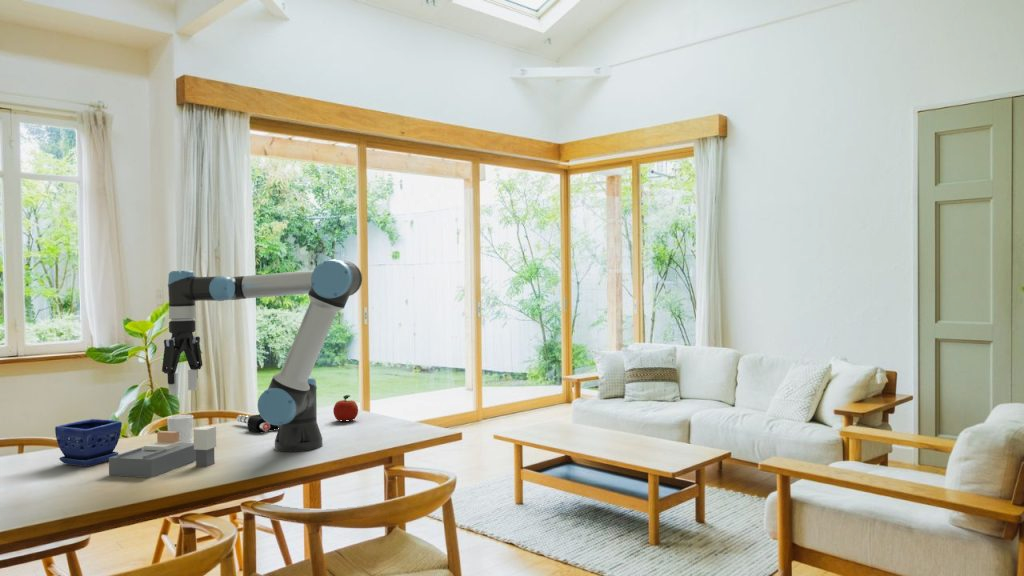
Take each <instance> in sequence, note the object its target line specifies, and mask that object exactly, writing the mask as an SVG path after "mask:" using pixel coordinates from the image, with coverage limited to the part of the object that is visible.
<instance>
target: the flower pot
mask: <svg viewBox="0 0 1024 576" xmlns="http://www.w3.org/2000/svg"><path fill="white" fill-rule="evenodd" d="M122 424H123V423H122V421H120V420H113V419H110V420H109V419H101V418H100V419H99V418H90V419H85V420H80V421H75V422H69V423H66V424H61V425H57V426H55V427H54V431H55V438H56V439H55V440H56V443H57V445H58V448H59V450H60V451H61V453H62V454H63V456H61V457H59V458H58V459H59V460H60V462H61V463H63V464H65V465H72V466H79V467H85V466H87V467H89V466H90V467H91V466H93V465H98V464H101V463H102V464H103V463H105V461H106V462H109V457H113V456H116V455H118V454H119V452H118V451H115V449H116V448H117V445H118V443H119V440H120V436H121V432H122V426H123V425H122Z"/></svg>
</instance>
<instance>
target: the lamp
mask: <svg viewBox="0 0 1024 576" xmlns="http://www.w3.org/2000/svg"><path fill="white" fill-rule="evenodd" d="M236 421H237V422H238V423H242V424H247V425H246V426H247V430H248V431H250V432H256V433H260V434H262V433H261V432H263V433H266V432H265V431H268V432H270V431H269V430H273V431H275V430H274V429H278V428H279V426H280V425H272V424H269V423H267V422H266V421H265V420H264V419H263V418H262V417H261V416H260V413H259V414H254V415H250V416H249V415H242V414H238V415H237V416H236Z"/></svg>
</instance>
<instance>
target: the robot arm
mask: <svg viewBox="0 0 1024 576" xmlns="http://www.w3.org/2000/svg"><path fill="white" fill-rule="evenodd" d="M167 278H168V279H167V280H168V281H167V287H168V288H167V289H168V292H167V293H168V319H169V322H168V332H169V333H170V334H171V338H169V339H164V340H163V345H164V350H163V358H162V365H161V366H162V367H161V372H162V373H164V374H167V385H168V395H169V396H171V395H175V396H176V395H179V390H178V389H179V381H178V380H179V378H178V377H179V376H178V375H179V374H178V373H177V370H178V369H177V368H178V364H179V362H180V359H181V355H182V353H184V355H185V357H186V361H187V364H188V366H189V369H188V370H187V377H188V378H187V383H188V384H187V387H188V389H187V390H188V391H198V377H199V375H198V371H199V370H201V368H202V367H203V359H202V351H201V345H200V341H201V337H200V336H194V334H193V333H194V332H196V320H194V319H196V302H199V301H200V302H201V301H206V302H208V301H209V302H210V301H211V302H212V301H217V302H223V301H231V300H232V301H239V300H244V299H255V298H257V299H258V298H267V297H268V298H269V297H281V296H283V297H284V296H296V295H308V298H309V300H310V301H309V305H308V306H307V309H306V312H305V313H304V316H303V318H302V320H301V323H300V326H299V328H298V330H297V333H296V335H295V337H294V340H293V342H292V344H291V347H290V349H289V351H288V354H287V356H286V358H285V361H284V363H283V366H282V368H281V370H280V371H279V372H278V373H275V374H274V375H273V376H272V378H271V382H270V383H269V386H268V387H267V389H266V390H264V391H263V392H262V393H261V394H260V396H259V398H258V399H257V400H258V401H257V410H258V411H257V412H258V413H259V414H260V416H261V417H262V418H263V419H264V420H265V421H266V422H267V423H269V424H272V425H280V426H279V429H278V430H277V432H276V433H277V434H276V436H275V439H274V449H275V450H276V451H280V452H302V451H303V452H304V451H310V450H313V449H318V448H321V447H322V446H323V436H322V433H321V430H320V428H319V425H318V422H317V415H318V414H317V413H318V412H317V410H318V409H317V405H318V404H317V388H318V386H317V381H316V379H315V377H311V373H312V372H313V369H314V367H315V364H316V362H317V360H318V357H319V355H320V352H321V350H322V348H323V346H324V344H325V341H326V339H327V336H328V334H329V331H330V329H331V327H332V325H333V322H334V320H335V317H336V315H337V313H338V312H339V311H342V310H343V309H345V307H346V304H347V302H348V300H349V297H351V296H353V295H354V294H356V293H357V292H358V291H359V290H360V288H361V286H362V283H363V275H362V272H361V270H360V268H359V267H358V266H357V265H356V264H355V263H353V262H351V261H348V260H341V259H335V258H332V259H327V260H324V261H322V262H320V263H318V264H317V265H316V266H315V267H314V269H313V270H301V271H288V272H287V271H286V272H277V273H266V274H254V275H253V274H252V275H243V276H242V275H241V276H240V275H239V276H223V275H222V276H221V275H217V276H196V274H195V272H194V270H171V271H170V272H169V273H168V277H167Z"/></svg>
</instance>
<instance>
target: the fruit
mask: <svg viewBox="0 0 1024 576" xmlns="http://www.w3.org/2000/svg"><path fill="white" fill-rule="evenodd" d="M350 397H351V395H349V394H345V395H343V399H342V400H339V401H337V402H336V403H335V404H334V407H333V416H334V417H335V419H336V420H337V421H339V420H342V421H346V420H352V421H354V420H355V419H356V417H358V414H359V408H358V407H359V406H358V404H357V403H356V401H354V400H351V399H350V400H347V399H349V398H350ZM353 419H354V420H353Z"/></svg>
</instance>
